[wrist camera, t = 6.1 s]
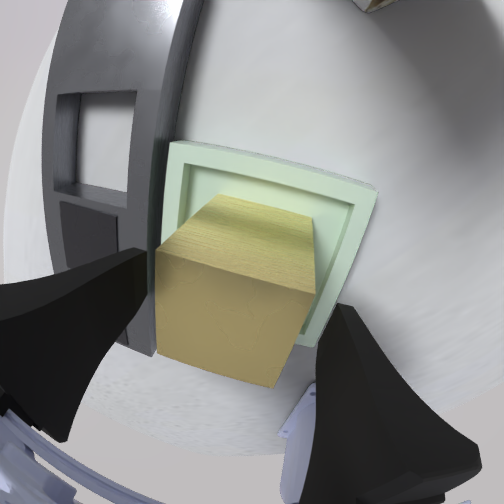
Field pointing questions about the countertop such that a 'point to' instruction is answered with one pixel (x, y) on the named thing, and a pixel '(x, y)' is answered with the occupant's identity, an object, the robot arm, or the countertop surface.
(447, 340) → the countertop surface
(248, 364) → the brass cube
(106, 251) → the grey flat long piece
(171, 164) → the tray
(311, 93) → the countertop surface
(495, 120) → the countertop surface
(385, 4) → the coffee box
